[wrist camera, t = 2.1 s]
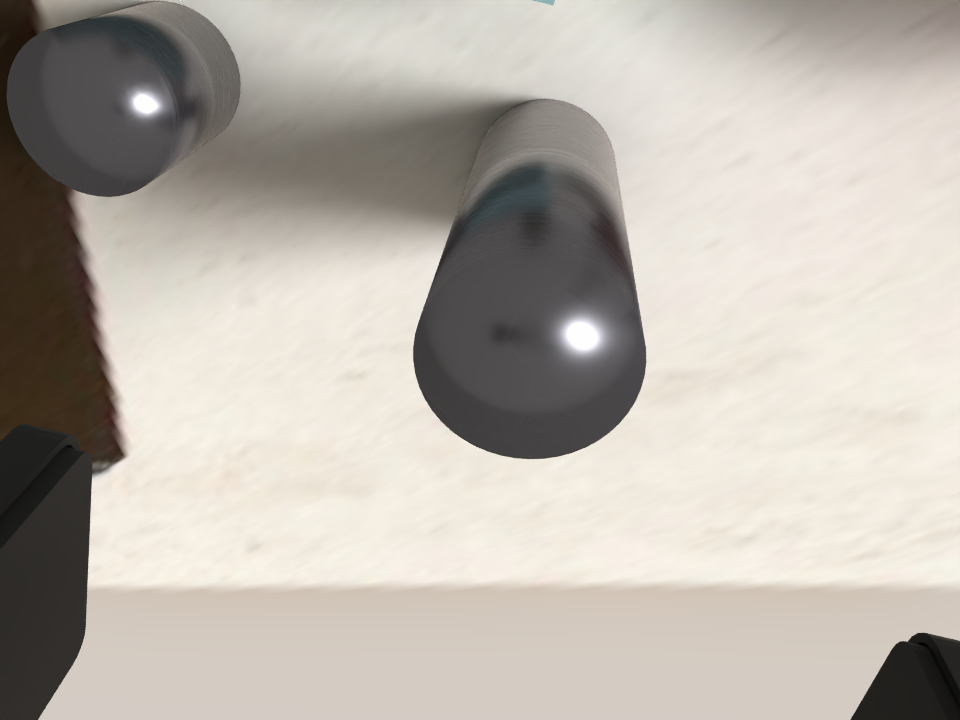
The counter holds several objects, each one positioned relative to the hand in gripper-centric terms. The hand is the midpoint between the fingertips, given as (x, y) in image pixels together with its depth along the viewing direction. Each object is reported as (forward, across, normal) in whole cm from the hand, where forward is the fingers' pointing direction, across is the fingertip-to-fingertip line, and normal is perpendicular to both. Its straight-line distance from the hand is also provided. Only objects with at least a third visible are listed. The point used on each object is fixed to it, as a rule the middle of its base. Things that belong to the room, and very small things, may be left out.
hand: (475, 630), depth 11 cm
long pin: (+18, 0, -1) cm, 18 cm away
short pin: (+18, +10, -1) cm, 21 cm away
